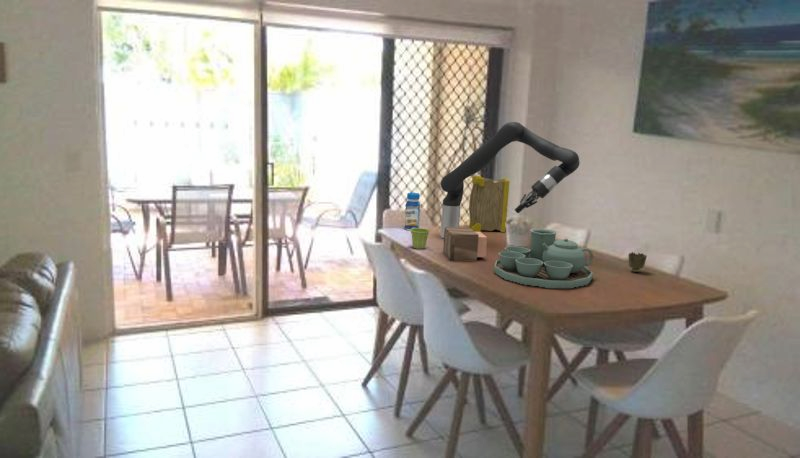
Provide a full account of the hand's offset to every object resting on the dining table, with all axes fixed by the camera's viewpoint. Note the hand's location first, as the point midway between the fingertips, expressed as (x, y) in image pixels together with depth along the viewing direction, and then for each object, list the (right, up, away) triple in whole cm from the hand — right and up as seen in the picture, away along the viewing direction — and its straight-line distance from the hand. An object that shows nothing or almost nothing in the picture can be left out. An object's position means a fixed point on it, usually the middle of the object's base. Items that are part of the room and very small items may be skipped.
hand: (516, 211), depth 281 cm
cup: (+50, -27, -13) cm, 58 cm away
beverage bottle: (-47, -8, +58) cm, 75 cm away
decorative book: (-5, -9, +65) cm, 66 cm away
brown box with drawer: (-26, -20, +1) cm, 33 cm away
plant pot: (-44, -17, +15) cm, 49 cm away
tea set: (+6, -28, -25) cm, 38 cm away
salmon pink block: (-20, -19, +1) cm, 28 cm away
